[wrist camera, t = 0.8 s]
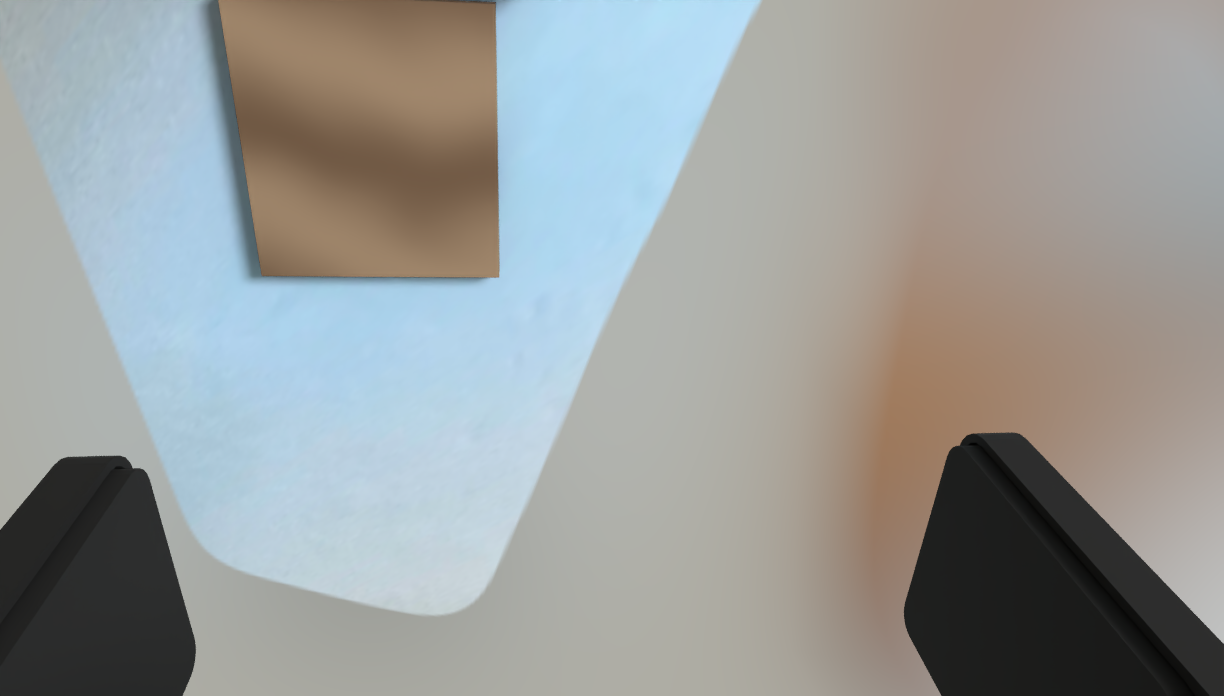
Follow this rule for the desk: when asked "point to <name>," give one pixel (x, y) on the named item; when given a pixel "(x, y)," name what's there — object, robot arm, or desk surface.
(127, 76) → the desk surface
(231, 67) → the board
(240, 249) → the desk surface
